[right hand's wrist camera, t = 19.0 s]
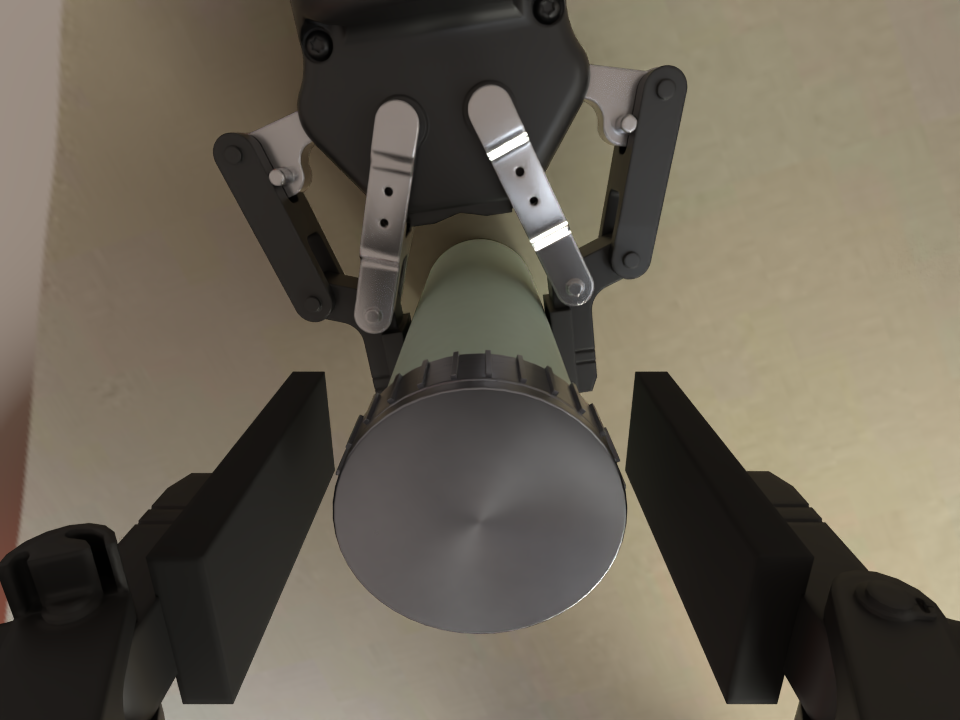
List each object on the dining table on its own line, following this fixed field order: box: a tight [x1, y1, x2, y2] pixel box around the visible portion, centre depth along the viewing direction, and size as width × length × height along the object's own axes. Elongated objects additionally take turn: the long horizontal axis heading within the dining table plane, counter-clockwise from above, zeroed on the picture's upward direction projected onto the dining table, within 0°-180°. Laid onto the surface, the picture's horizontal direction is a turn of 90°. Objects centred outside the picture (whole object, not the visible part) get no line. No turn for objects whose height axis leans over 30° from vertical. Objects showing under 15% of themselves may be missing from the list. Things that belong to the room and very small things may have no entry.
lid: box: [333, 350, 627, 634], centre depth 11 cm, size 6×6×2 cm
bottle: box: [388, 239, 571, 386], centre depth 19 cm, size 5×5×16 cm
